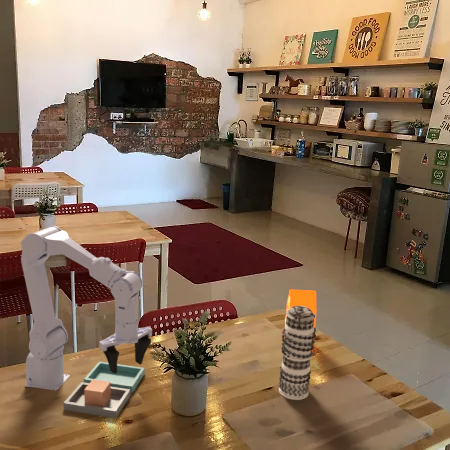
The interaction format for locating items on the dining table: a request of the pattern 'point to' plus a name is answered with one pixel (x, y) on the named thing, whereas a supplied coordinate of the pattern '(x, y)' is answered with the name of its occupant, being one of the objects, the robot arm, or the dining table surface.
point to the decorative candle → (297, 352)
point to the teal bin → (117, 375)
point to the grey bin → (110, 410)
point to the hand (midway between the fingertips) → (126, 367)
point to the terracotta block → (97, 393)
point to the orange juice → (302, 300)
